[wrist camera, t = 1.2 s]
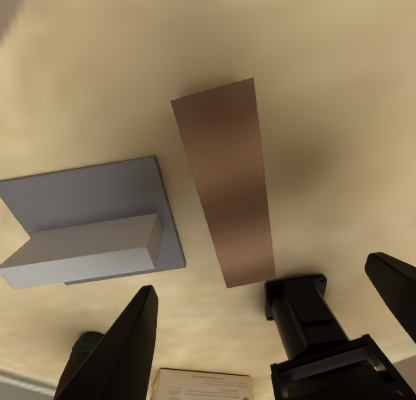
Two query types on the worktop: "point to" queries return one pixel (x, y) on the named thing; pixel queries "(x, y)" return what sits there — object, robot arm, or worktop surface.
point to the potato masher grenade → (78, 358)
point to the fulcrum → (91, 224)
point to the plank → (230, 177)
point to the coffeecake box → (200, 386)
